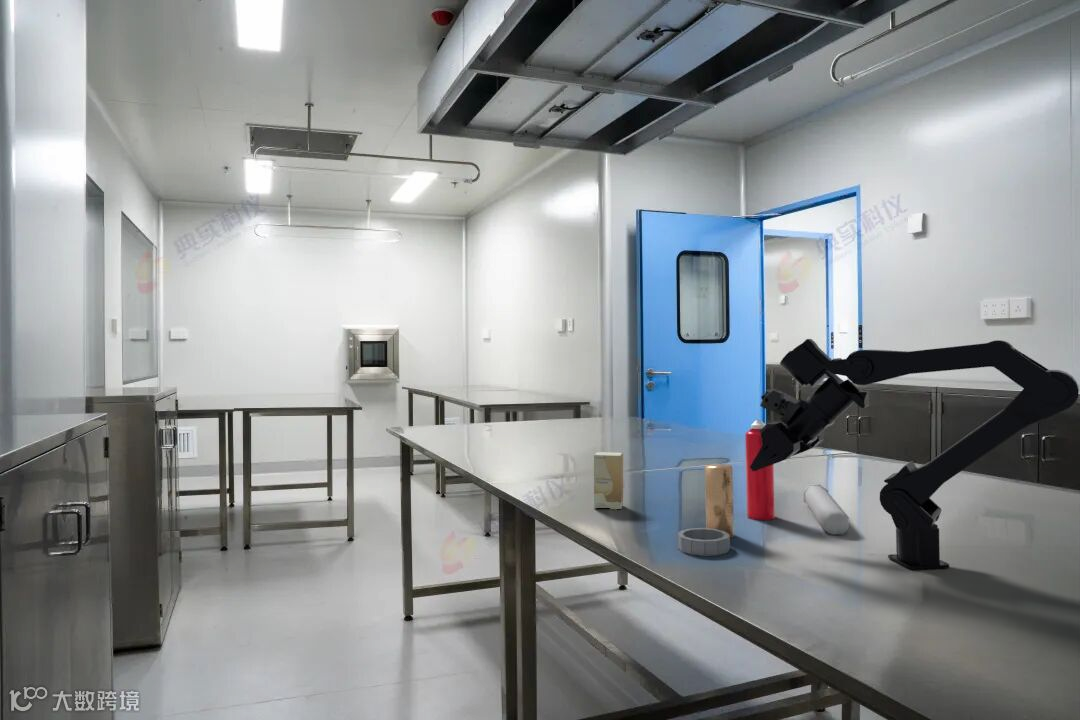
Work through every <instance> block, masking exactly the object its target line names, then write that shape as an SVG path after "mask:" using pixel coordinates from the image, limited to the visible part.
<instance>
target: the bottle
mask: <svg viewBox="0 0 1080 720" xmlns="http://www.w3.org/2000/svg"><path fill="white" fill-rule="evenodd" d="M765 425H766V423H764V422H763V419H762V420H760V419H755V421H754V422H753V423H752V424H750V426H751V427H750V429H749V430H747V431H746V433H745V435H744V436H745V437H744V439H745V441H744V443H745V477H746V482H745V484H746V485H745V486H746V512H747V513H746V516H747V518H748V519H750V520H751V519H752V520H757V521H771V520H775V516H776V514H775V513H776V511H775V471H774V470H775V469H774V468H775V467H774V466H775V464H773V465H770V466H767V467H765V468H762V469H759V470H757V471H752V470H751V468H750V465H751V464H752V462H753V460H754V459H755V457H756V455H757V453H758V452H759V450H760V448H761V446H762V438H761V437H760V430H761V429H762V428H763V427H764V426H765Z"/></svg>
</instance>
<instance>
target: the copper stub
mask: <svg viewBox="0 0 1080 720" xmlns="http://www.w3.org/2000/svg"><path fill="white" fill-rule="evenodd" d="M704 485H705V487H704V489H705V490H704V492H705V528H709V529H717V530H721V531H725V532H726V533H728V534H729V535H730V539H731V538H734V537H735V532H734V531H735V530H734V529H735V527H734V525H735V524H734V490H733V489H734V487H733V486H734V485H733V466H732V465H731V464H724V463H723V464H722V463H711V464H706V465H704Z"/></svg>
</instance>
